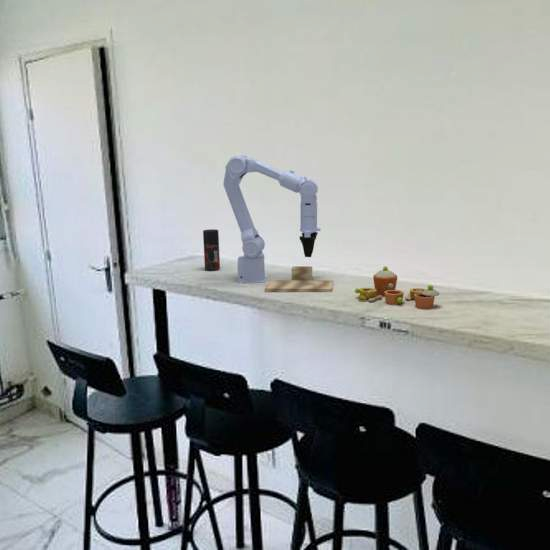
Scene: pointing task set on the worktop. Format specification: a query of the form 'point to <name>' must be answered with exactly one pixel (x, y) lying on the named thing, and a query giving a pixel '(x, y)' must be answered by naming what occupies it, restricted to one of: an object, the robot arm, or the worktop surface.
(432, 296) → the toy tea set
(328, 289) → the board
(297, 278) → the block
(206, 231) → the deodorant
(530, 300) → the worktop surface
